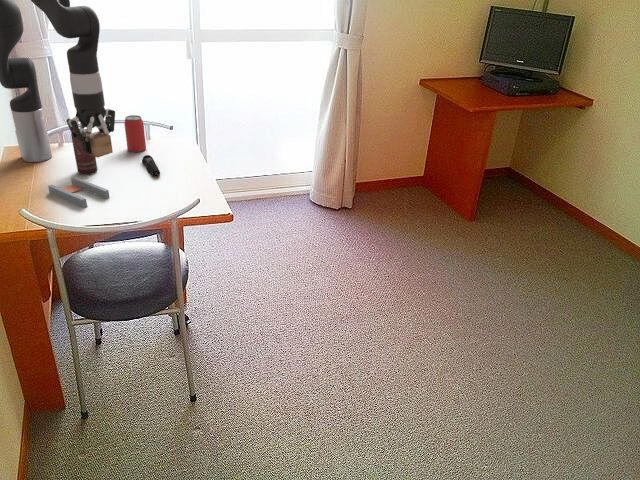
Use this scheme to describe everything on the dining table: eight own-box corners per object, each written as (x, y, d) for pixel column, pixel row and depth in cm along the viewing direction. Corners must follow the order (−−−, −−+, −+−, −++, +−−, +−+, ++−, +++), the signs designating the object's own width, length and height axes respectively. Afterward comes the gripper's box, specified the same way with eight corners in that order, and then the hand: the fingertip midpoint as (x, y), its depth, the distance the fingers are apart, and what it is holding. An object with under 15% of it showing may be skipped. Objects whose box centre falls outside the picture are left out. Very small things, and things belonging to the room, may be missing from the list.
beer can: (124, 151, 197) (120, 119, 191) (132, 145, 202) (128, 113, 196) (141, 153, 196) (137, 121, 190) (149, 147, 201) (146, 115, 196)
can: (91, 176, 176) (84, 135, 169) (74, 173, 177) (66, 132, 170) (102, 169, 181) (95, 129, 175) (84, 167, 182) (77, 126, 175)
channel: (49, 193, 164) (47, 185, 163) (75, 183, 171) (74, 176, 170) (83, 207, 157) (82, 200, 156) (109, 197, 164) (108, 189, 162)
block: (85, 153, 149) (82, 135, 147) (100, 148, 153) (98, 131, 150) (97, 157, 147) (94, 140, 144) (112, 152, 151) (110, 135, 148)
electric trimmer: (151, 179, 178) (150, 170, 176) (141, 162, 189) (140, 153, 188) (163, 178, 179) (162, 169, 178) (152, 161, 191) (151, 152, 189)
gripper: (72, 97, 135) (83, 161, 143) (119, 86, 145) (127, 147, 154) (53, 91, 138) (65, 154, 146) (100, 81, 149) (109, 141, 157)
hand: (97, 150), depth 150 cm, fingers closed on block, 5 cm apart
